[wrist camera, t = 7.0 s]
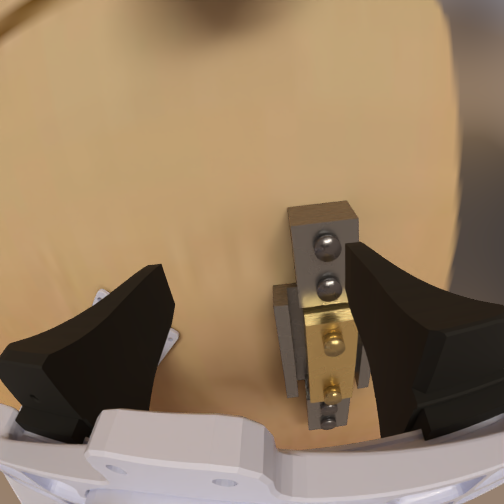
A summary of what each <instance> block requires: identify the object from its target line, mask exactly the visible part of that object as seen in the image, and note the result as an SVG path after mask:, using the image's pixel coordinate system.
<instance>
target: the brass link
mask: <svg viewBox="0 0 504 504" xmlns="http://www.w3.org/2000/svg"><path fill="white" fill-rule="evenodd" d="M302 311H303V322H304V335H305V347H306V361H307V373H308V382H309V392H310V403H316V402H325V404H327V405H335V404H338V403H339V402H341V400H342V399H345V398H351V397H352V392H353V383H354V374H355V364H356V353H357V340H358V330H357V327H356V324H355V322H354V319H353V316H352V314H351V311H350V308H349V303H348V302H344V303H337V304H329V305H322V306H314V307H306V308H302Z"/></svg>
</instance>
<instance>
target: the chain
mask: <svg viewBox="0 0 504 504" xmlns="http://www.w3.org/2000/svg"><path fill="white" fill-rule="evenodd" d="M288 215H289V223H290V232H291V240H292V248H293V257H294V266H295V275H296V283H292V284H284V285H275V286H273V307H274V313H275V320H276V326H277V332H278V339H279V345H280V352H281V358H282V365H283V371H284V378H285V384H286V391H287V398H291V397H298V383H297V380H305V386H306V400H307V413H308V426H309V430H315V429H324V430H329V429H333V428H335V427H338V426H344V425H347V419H348V411H349V404H350V398H345V399H342V400H341V402H339V403H338V404H335V405H327V404H325V402H316V403H310V392H309V382H308V373H307V361H306V347H305V335H304V322H303V311H302V308H306V307H314V306H322V305H329V304H337V303H344V302H348V299H347V295H346V290H345V243H353V242H359V221H358V217H357V215H356V214H355V212H354V211H353V209H352V208H351V206H350V205H349V203H348V202H347V201H339V202H330V203H322V204H313V205H305V206H296V207H288ZM370 372H371V371H370V367H369V362H368V359H367V355H366V352H365V349H364V346H363V344H362V341H361V338H360V335H359V333H358V340H357V353H356V364H355V374H354V375H355V379H356V384H357V388H358V389H359V388H365V387H368V384H369V378H370Z"/></svg>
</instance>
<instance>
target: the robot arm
mask: <svg viewBox="0 0 504 504" xmlns="http://www.w3.org/2000/svg"><path fill="white" fill-rule="evenodd" d="M345 290H346V295H347V299H348V303H349V308H350V311H351V314H352V316H353V319H354V322H355V324H356V327H357V330H358V333H359V335H360V338H361V341H362V344H363V346H364V349H365V352H366V355H367V359H368V362H369V367H370V371H371V376H372V381H373V387H374V392H375V398H376V404H377V411H378V418H379V425H380V435H381V438H380V439H375V440H370V441H365V442H359V443H353V444H347V445H340V446H333V447H325V448H316V449H307V450H288V449H277V448H276V445H275V441H274V437H273V435H272V434H271V433H270V432H269V431H268V430H267V429H266V427H265V426H264V425H262V424H261V423H258V422H256V421H253V420H250V419H248V418H245V417H243V416H237V415H228V414H219V413H177V412H159V411H149V406H150V399H151V393H152V387H153V382H154V377H155V373H156V370H157V366H158V365H159V364H160V362H161V361H162V360H163V358H164V357H165V356H166V354H167V353H168V352H169V350H170V349H171V348H172V346H173V345H174V344H175V342H176V341H177V340H178V338H179V333H178V332H177V331H176V330H174V329H172V328H171V324H172V319H173V314H174V308H175V303H174V300H173V297H172V294H171V291H170V288H169V285H168V282H167V279H166V276H165V273H164V270H163V267H162V264H156V265H148V266H146V267H144V268H143V269H141V270H140V271H138V272H137V273H136V274H134V275H133V276H132V277H130V278H129V279H128V280H126V281H125V282H124V283H123V284H121V285H120V286H119V287H118V288H116V289H115V290H114V291H112V292H111V293H109V292H107V291H106V290H104V289H99V291H98V292H97V294H96V297H95V299H94V302H93V305H92V307H90V308H89V309H87V310H85V311H84V312H82V313H81V314H79V315H77V316H76V317H74V318H72V319H70V320H68V321H66V322H64V323H62V324H60V325H58V326H56V327H54V328H52V329H50V330H48V331H45V332H43V333H40V334H38V335H35V336H32V337H29V338H26V339H23V340H20V341H17V342H13V343H10V344H9V345H8V346H7V347H6V348H5V350H4V351H3V353H2V354H1V355H0V379H1V381H2V382H3V383H4V385H5V386H6V387H7V388H8V390H9V391H10V392H11V393H12V394H13V395H14V397H15V398H16V399H17V400H18V401H19V402H20V403H21V405H22V406H21V408H20V410H19V411H18V410H17V409H15V408H13V407H11V406H8V405H5V404H2V403H0V471H1V472H3V473H4V475H5V477H6V478H7V480H8V482H9V484H10V485H11V487H12V489H13V490H14V492H15V493H16V495H17V497H18V498H19V500H20V502H21V504H463V503H465V502H467V501H469V500H472V499H474V498H476V497H478V496H480V495H482V494H484V493H486V492H488V491H490V490H492V489H494V488H496V487H498V486H500V485H501V484H503V483H504V306H503V305H500V304H494V303H488V302H483V301H478V300H474V299H470V298H467V297H463V296H459V295H456V294H453V293H450V292H448V291H445V290H442V289H440V288H437V287H435V286H432V285H430V284H428V283H426V282H424V281H422V280H420V279H418V278H416V277H414V276H412V275H410V274H409V273H407V272H405V271H404V270H402V269H400V268H399V267H397V266H395V265H394V264H392V263H391V262H389V261H388V260H386V259H385V258H383V257H382V256H381V255H379V254H378V253H376V252H375V251H374V250H372V249H371V248H369V247H368V246H366V245H365V244H363V243H362V242H353V243H345ZM100 298H102V299H100ZM171 338H172V339H171Z"/></svg>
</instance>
